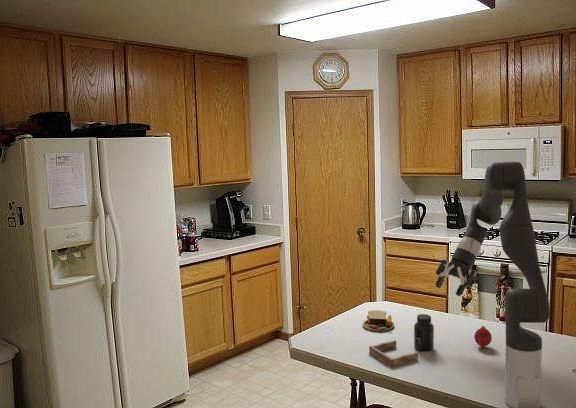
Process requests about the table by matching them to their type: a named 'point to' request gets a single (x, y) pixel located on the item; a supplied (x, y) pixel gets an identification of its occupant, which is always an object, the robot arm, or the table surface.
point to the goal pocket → (392, 362)
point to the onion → (483, 337)
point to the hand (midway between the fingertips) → (447, 291)
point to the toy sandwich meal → (378, 321)
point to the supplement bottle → (424, 333)
